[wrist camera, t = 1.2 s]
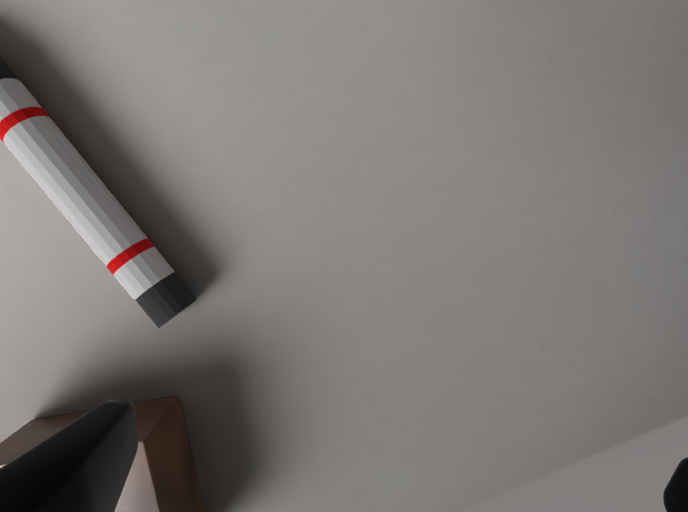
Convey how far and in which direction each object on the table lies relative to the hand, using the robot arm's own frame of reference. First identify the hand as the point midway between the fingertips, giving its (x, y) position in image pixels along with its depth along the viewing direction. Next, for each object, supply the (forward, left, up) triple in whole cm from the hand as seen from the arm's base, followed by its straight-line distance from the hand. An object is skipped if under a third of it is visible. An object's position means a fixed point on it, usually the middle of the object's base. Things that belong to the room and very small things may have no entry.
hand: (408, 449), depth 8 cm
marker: (+7, +12, -14) cm, 19 cm away
